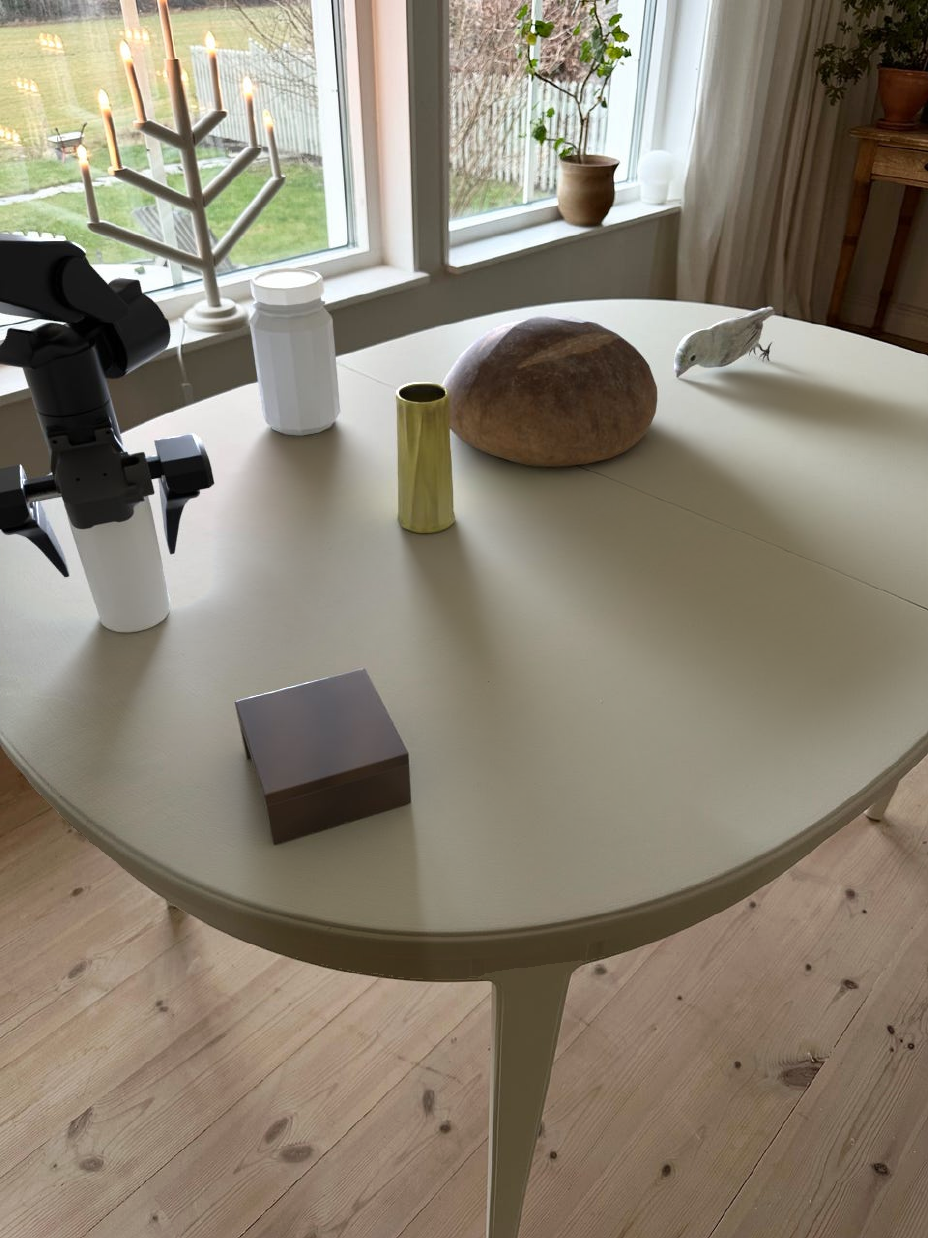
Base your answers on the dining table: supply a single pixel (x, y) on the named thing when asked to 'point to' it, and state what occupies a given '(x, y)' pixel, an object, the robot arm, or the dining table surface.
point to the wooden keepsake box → (324, 754)
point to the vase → (424, 458)
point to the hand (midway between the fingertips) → (119, 563)
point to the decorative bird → (722, 342)
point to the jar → (294, 351)
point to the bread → (551, 393)
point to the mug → (125, 570)
